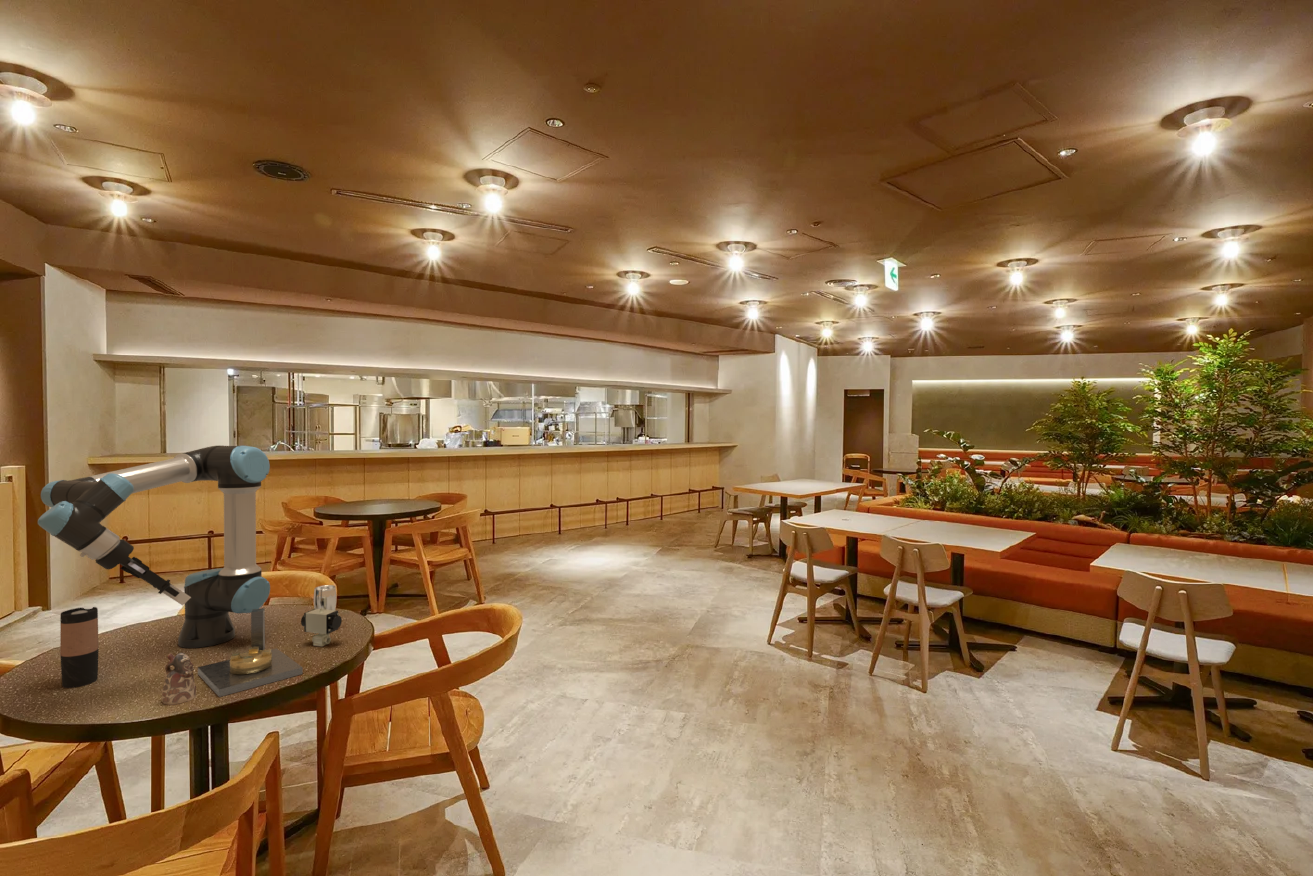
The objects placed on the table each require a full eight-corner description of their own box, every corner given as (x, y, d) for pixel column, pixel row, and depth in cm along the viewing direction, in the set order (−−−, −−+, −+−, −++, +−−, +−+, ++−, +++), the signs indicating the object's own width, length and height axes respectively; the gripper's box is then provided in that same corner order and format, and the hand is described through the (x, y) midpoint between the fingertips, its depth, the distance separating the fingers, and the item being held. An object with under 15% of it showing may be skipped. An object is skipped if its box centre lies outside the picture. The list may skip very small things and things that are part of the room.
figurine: (184, 704, 155) (183, 658, 155) (154, 705, 155) (154, 658, 154) (202, 692, 162) (202, 647, 162) (174, 693, 162) (174, 648, 161)
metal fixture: (239, 654, 183) (239, 610, 182) (278, 649, 187) (277, 606, 187) (226, 676, 167) (225, 628, 167) (268, 670, 171) (268, 624, 171)
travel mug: (66, 690, 162) (65, 616, 162) (56, 684, 167) (55, 612, 166) (103, 680, 169) (102, 609, 169) (93, 674, 173) (92, 605, 173)
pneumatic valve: (331, 648, 194) (331, 611, 194) (300, 646, 197) (300, 609, 196) (344, 642, 200) (344, 606, 199) (313, 640, 202) (313, 604, 202)
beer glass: (332, 625, 217) (332, 583, 216) (339, 630, 212) (339, 587, 211) (311, 630, 212) (311, 587, 212) (317, 635, 207) (317, 591, 207)
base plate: (197, 674, 174) (197, 666, 174) (276, 654, 189) (276, 647, 189) (219, 697, 159) (219, 688, 159) (302, 674, 175) (302, 666, 174)
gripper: (88, 558, 159) (167, 608, 172) (99, 564, 151) (181, 616, 164) (115, 535, 164) (190, 586, 176) (127, 540, 155) (205, 593, 168)
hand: (186, 601), depth 170 cm, fingers closed
